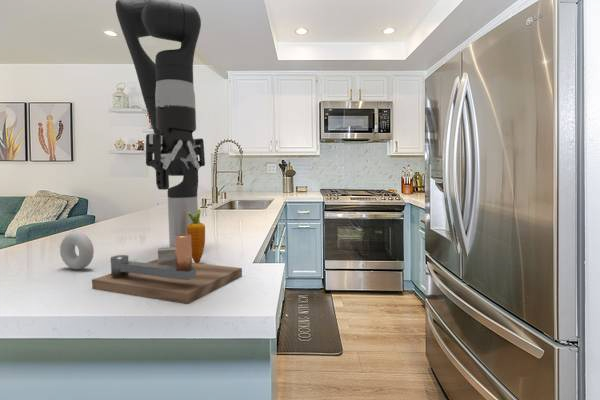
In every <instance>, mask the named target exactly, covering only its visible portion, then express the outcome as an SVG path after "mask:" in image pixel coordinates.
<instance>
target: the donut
mask: <svg viewBox="0 0 600 400" xmlns="http://www.w3.org/2000/svg"><path fill="white" fill-rule="evenodd" d="M76 247H77V249H78V255H77V253H76ZM94 251H95V250H94V245H93V242H92V240H91V239H90V238H89V236H88V235H86V234H85V233H83V232H79V231H72V232H70V233H67V235H65V236H64V237H63V239H62V240H61V243H60V247H59V253H60V257H61V259H62V261H63V262H64V264H65V265H66V266H67V267H68V268H70V269H73V270H75V271H76V270H83V269H85V268H86V267H88V266H89V265H90V264H91V263H92V260H93V258H94V255H95V254H94V253H95V252H94Z"/></svg>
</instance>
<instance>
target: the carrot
mask: <svg viewBox="0 0 600 400" xmlns="http://www.w3.org/2000/svg"><path fill="white" fill-rule="evenodd" d="M201 212H202V210H201V209H199V208H198V212H197V214H196V217H195V216H193V215H192V214H191V212H189V213H188V215H189V216H190V217H191V219H192V221H193V223H190V224H189V225H188V226H187V234H188V235H191V250H192V259H193V260H192V261H193V262H194V263H200V261H201V259H202V257H203V254H204V249H205V245H206V244H205V243H206V225H205V224H204V223H203V222H200V223H198V221H199V219H200V218H201ZM193 217H194V218H193Z"/></svg>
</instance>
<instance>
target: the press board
mask: <svg viewBox="0 0 600 400" xmlns="http://www.w3.org/2000/svg"><path fill="white" fill-rule="evenodd" d="M157 248H158V249H157V259H154V260H151V261H147V262H146V263H150V264H159V265H168V266H176V258H175V247H170V246H169V247H157ZM192 268H194V269H196V277H195V278H193V279H191V280H181V279H173V278H166V277H158V276H151V275H143V274H135V273H129V274H128V275H125V276H119V277H114V276H111V273H108V274H105V275H102V276H99V277H95V278H92V279H91V284H92V286H91V287H92V289H93V290H99V291H100V290H101V291H106V292H111V293H112V292H113V293H118V294H119V293H120V294H125V295H132V296H138V297H145V298H149V299H157V300H163V301H169V302H174V303H181V304H190V303H192V302H194V301H196V300H198V299H201V298H202V297H204V296H206V295H208V294H210V293H212V292H214V291H216V290H218V289H220V288H221V287H223V286H225V285H227V284H229V283H231V282H234V281H236V280H237V279H239V278H241V277H243V268H242V267H238V266H237V267H235V266H226V265H216V264H207V263H201V262H199V263H195V262H192Z"/></svg>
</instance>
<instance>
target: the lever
mask: <svg viewBox="0 0 600 400" xmlns="http://www.w3.org/2000/svg"><path fill="white" fill-rule="evenodd" d="M175 258H176V266H168V265H159V264H150V263H147V262H139V261H132V260H131V261H130V260H129V255H127V254H118V255H113V256H111V257H110V272H111V273H110V274H111V276H114V277H119V276H125V275H128V274H129V273H135V274H143V275H151V276H158V277H166V278H173V279H181V280H191V279H193V278H195V277H196V269H194V268H192V263H193V260H192V259H193V258H192V250H191V235H188V234H183V235H176V236H175Z"/></svg>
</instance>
